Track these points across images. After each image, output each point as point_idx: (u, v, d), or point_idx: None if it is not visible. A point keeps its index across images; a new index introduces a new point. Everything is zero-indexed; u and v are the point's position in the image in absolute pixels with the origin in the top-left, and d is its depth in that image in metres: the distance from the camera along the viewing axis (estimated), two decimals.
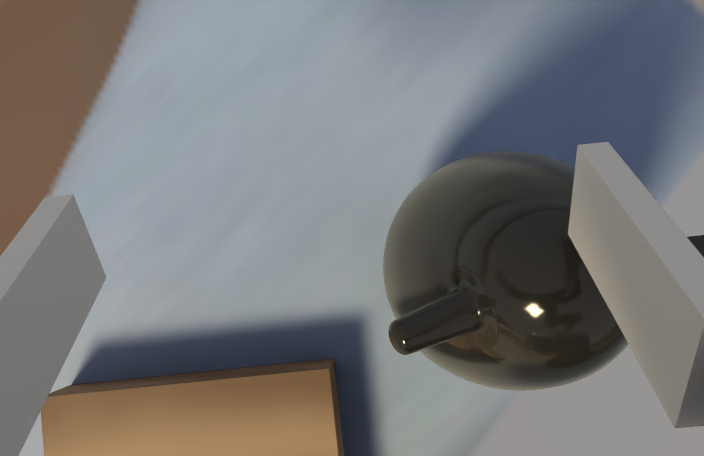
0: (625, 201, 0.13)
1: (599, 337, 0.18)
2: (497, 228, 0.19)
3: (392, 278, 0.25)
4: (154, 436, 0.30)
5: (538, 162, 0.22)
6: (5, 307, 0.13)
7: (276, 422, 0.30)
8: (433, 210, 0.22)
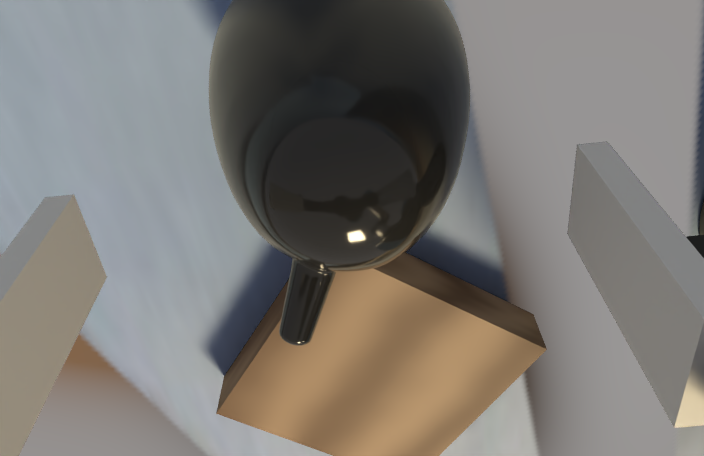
0: (624, 201, 0.13)
1: (407, 224, 0.17)
2: (258, 220, 0.18)
3: None
4: (292, 371, 0.36)
5: (240, 72, 0.19)
6: (6, 307, 0.13)
7: (341, 301, 0.33)
8: None
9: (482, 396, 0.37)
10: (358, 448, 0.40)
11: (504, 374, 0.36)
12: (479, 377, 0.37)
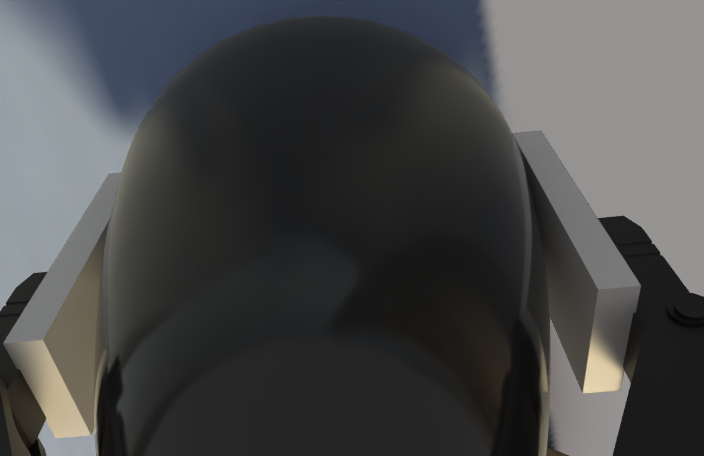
0: (546, 184, 0.14)
1: None
2: None
3: None
4: None
5: (126, 306, 0.10)
6: (88, 271, 0.14)
7: None
8: None
9: None
10: None
11: None
12: None
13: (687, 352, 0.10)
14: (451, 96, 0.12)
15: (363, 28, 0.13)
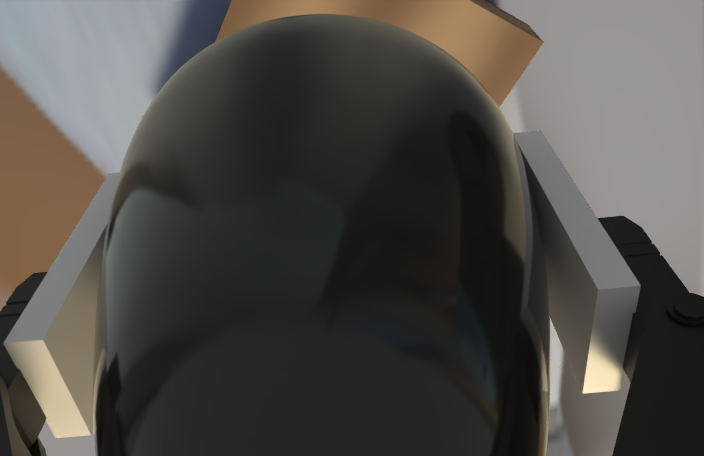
0: (546, 184, 0.14)
1: None
2: None
3: None
4: None
5: (125, 303, 0.10)
6: (88, 271, 0.14)
7: None
8: None
9: None
10: None
11: (496, 83, 0.31)
12: None
13: (686, 352, 0.10)
14: (451, 93, 0.12)
15: (362, 26, 0.13)
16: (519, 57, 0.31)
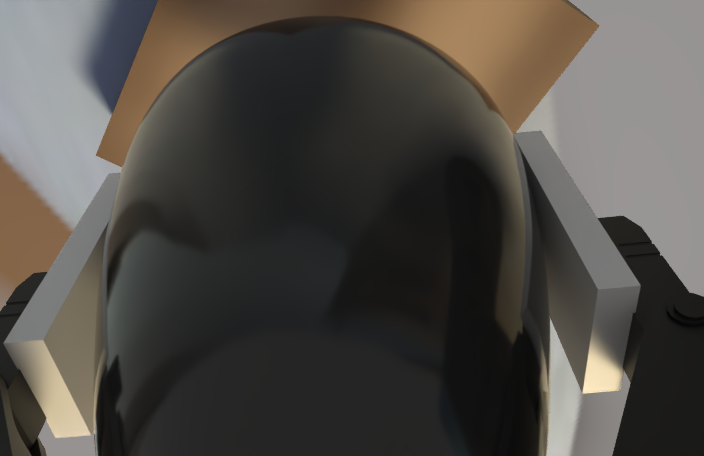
0: (546, 184, 0.14)
1: None
2: None
3: None
4: None
5: (126, 305, 0.10)
6: (87, 271, 0.14)
7: None
8: None
9: None
10: None
11: (532, 78, 0.24)
12: (493, 84, 0.24)
13: (686, 352, 0.10)
14: (451, 95, 0.12)
15: (363, 28, 0.13)
16: (565, 44, 0.23)
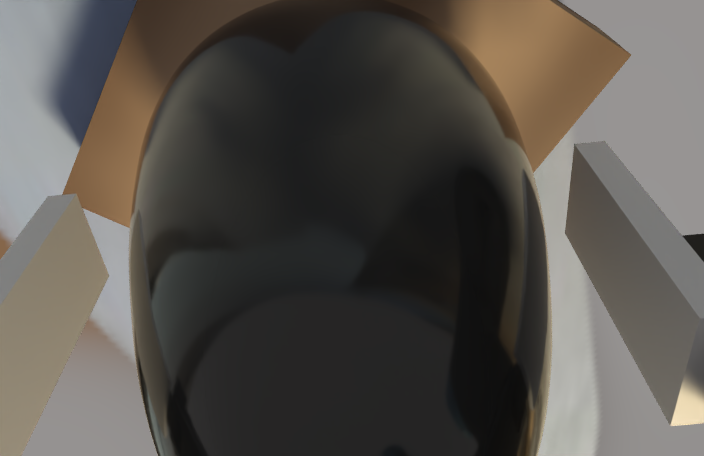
0: (621, 200, 0.13)
1: None
2: None
3: None
4: None
5: (168, 236, 0.10)
6: (9, 305, 0.13)
7: None
8: None
9: None
10: None
11: (553, 113, 0.21)
12: None
13: None
14: (453, 59, 0.13)
15: (369, 2, 0.14)
16: (592, 76, 0.20)
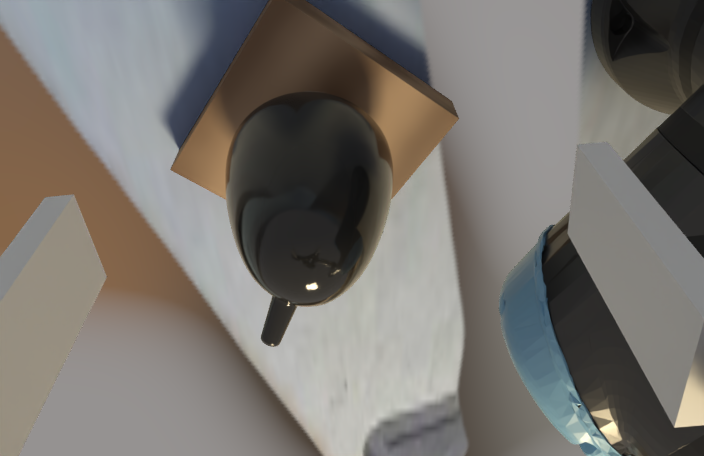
0: (624, 201, 0.13)
1: (339, 284, 0.30)
2: (255, 274, 0.31)
3: None
4: None
5: (250, 184, 0.32)
6: (5, 307, 0.13)
7: (284, 53, 0.39)
8: None
9: (403, 166, 0.43)
10: None
11: (422, 143, 0.42)
12: (401, 145, 0.42)
13: None
14: (358, 127, 0.35)
15: (329, 98, 0.36)
16: (441, 127, 0.42)
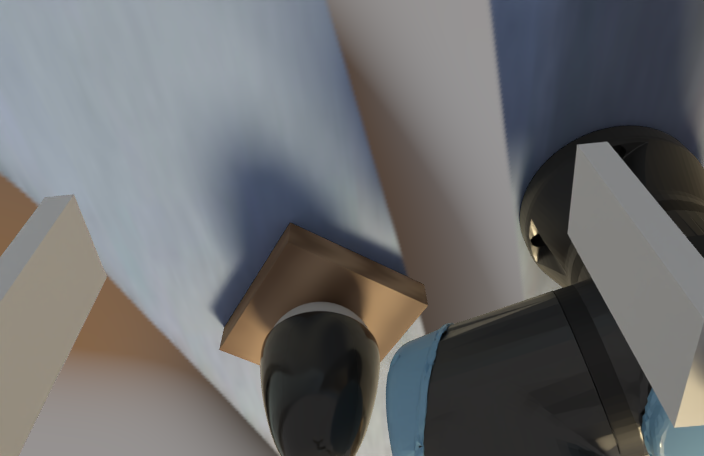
0: (624, 201, 0.13)
1: None
2: None
3: None
4: (267, 320, 0.57)
5: (278, 397, 0.47)
6: (5, 307, 0.13)
7: (296, 275, 0.54)
8: None
9: (390, 337, 0.58)
10: None
11: (403, 322, 0.57)
12: (387, 324, 0.57)
13: None
14: (350, 340, 0.50)
15: (329, 318, 0.51)
16: (415, 311, 0.57)
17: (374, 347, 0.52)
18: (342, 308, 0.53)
